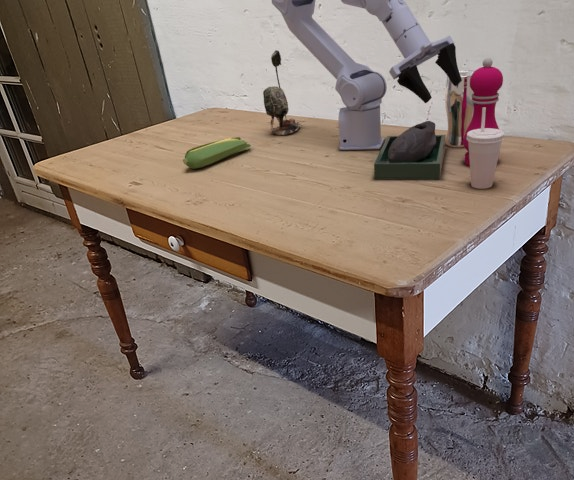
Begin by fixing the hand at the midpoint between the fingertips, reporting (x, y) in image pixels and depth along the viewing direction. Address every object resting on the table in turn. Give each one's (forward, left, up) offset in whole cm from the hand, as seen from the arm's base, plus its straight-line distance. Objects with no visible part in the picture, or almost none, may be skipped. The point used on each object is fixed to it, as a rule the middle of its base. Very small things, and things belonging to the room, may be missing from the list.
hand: (443, 92), depth 114 cm
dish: (-6, -4, -13) cm, 15 cm away
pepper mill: (+8, -4, -14) cm, 16 cm away
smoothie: (+8, -16, -14) cm, 23 cm away
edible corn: (-51, 0, -14) cm, 53 cm away
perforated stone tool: (-6, -4, -13) cm, 15 cm away
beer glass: (+3, +10, -14) cm, 17 cm away
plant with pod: (-42, +23, -14) cm, 49 cm away
